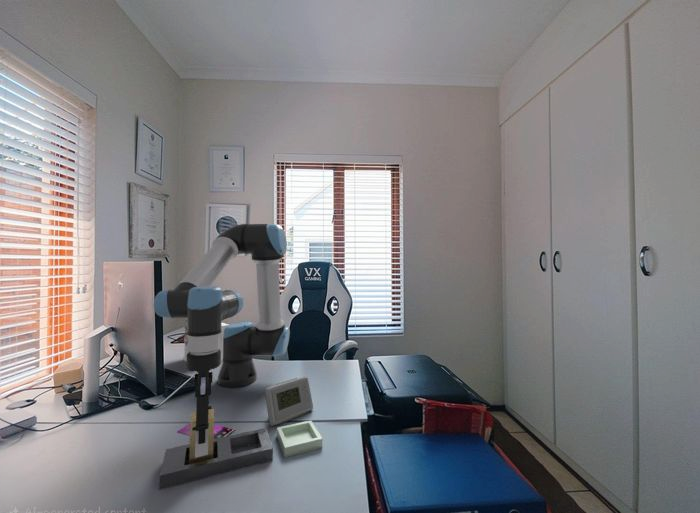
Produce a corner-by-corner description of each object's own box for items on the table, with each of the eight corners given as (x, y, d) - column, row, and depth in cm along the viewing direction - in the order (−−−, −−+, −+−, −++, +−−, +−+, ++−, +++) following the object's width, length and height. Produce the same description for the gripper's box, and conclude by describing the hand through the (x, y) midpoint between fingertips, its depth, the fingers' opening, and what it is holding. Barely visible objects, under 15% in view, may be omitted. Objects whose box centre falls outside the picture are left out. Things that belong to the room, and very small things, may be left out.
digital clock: (268, 429, 88) (269, 393, 89) (259, 416, 96) (260, 382, 96) (318, 415, 97) (318, 381, 97) (306, 403, 105) (307, 373, 105)
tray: (276, 436, 85) (277, 427, 85) (310, 428, 89) (311, 420, 89) (284, 457, 76) (284, 447, 76) (322, 447, 80) (322, 438, 80)
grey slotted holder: (165, 461, 74) (166, 449, 74) (266, 438, 84) (266, 427, 84) (159, 489, 64) (159, 475, 65) (272, 460, 75) (272, 448, 75)
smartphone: (217, 446, 81) (217, 443, 81) (176, 433, 86) (176, 430, 86) (236, 432, 88) (236, 429, 88) (196, 421, 93) (197, 418, 93)
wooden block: (190, 461, 74) (191, 412, 74) (212, 456, 76) (213, 408, 76) (189, 475, 69) (190, 422, 69) (212, 469, 71) (214, 418, 71)
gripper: (189, 342, 80) (187, 430, 80) (183, 365, 63) (180, 477, 62) (220, 339, 83) (218, 424, 83) (222, 360, 66) (219, 467, 65)
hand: (201, 446), depth 72 cm, fingers open, 6 cm apart
